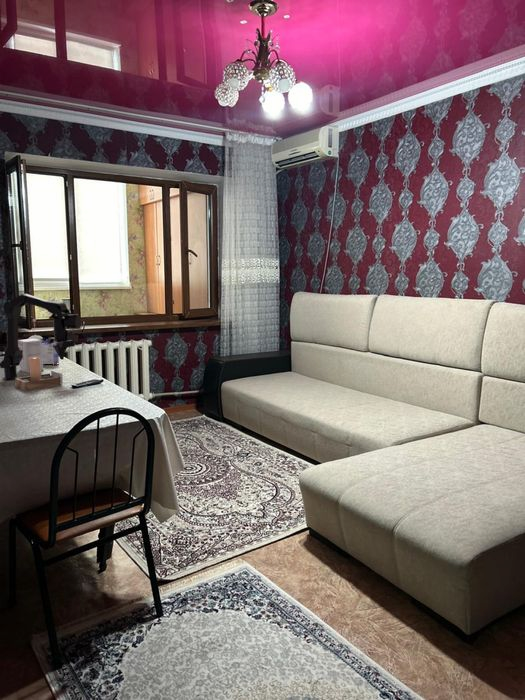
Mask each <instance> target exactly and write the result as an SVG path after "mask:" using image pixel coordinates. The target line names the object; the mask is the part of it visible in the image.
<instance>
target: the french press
mask: <svg viewBox="0 0 525 700" xmlns="http://www.w3.org/2000/svg"><path fill="white" fill-rule="evenodd" d="M32 322H34V326H33V327H34V328H36V326H35V325H36V324H35V323H36V322H37V319H36V318H34V319H32ZM33 338H35V339H39V340H41V343H45V342H46V341H45V340H44V339H43V337H42V336H41V335H36V334H34V335H31V336H30V337H28V338H27V339H33Z"/></svg>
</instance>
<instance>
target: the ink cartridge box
mask: <svg viewBox="0 0 525 700" xmlns="http://www.w3.org/2000/svg"><path fill="white" fill-rule="evenodd" d="M47 340H48V339H47V338H46V340H45V341H44V342H45V343H44V342H43V343H42V342H41V344H42V358H43V364H53V365H52V366H55V365H54V364H57V363H59V364H60V361H59V359H60V357H59V356H58V354H57V352H56V350H55V349H54V347H53V346H52V345H54V343H51V344H47ZM57 365H58V364H57Z"/></svg>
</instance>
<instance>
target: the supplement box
mask: <svg viewBox="0 0 525 700" xmlns="http://www.w3.org/2000/svg"><path fill="white" fill-rule="evenodd" d="M41 340H42V339H40V340H39V339H35V338H33V339H28V338H26V339H18V347H19V349H20V350H23V358H22V360H21V361H20V364H19V370H20V371H21V370H22V372H24V373H27V372H28V373H30V365H29V358H30V357H40V366H41V371H44V365H43V358H42V344H41V343H42V342H41Z"/></svg>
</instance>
